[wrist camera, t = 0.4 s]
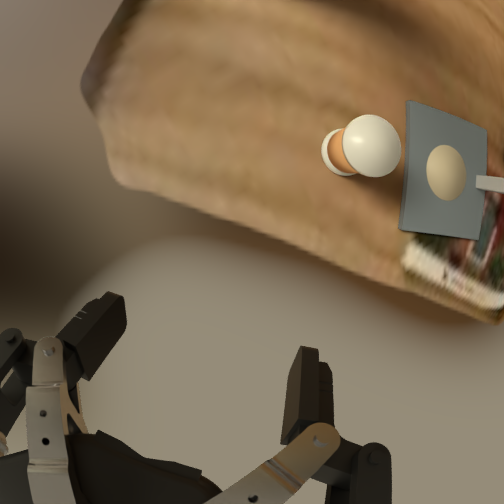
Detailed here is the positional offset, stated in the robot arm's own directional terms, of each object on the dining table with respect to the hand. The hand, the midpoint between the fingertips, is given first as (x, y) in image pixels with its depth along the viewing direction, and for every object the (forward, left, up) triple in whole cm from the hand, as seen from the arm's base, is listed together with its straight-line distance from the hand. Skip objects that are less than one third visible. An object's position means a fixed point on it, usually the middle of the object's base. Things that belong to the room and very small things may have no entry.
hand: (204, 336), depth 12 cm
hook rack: (-11, +29, -25) cm, 40 cm away
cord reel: (-11, +12, -25) cm, 30 cm away
